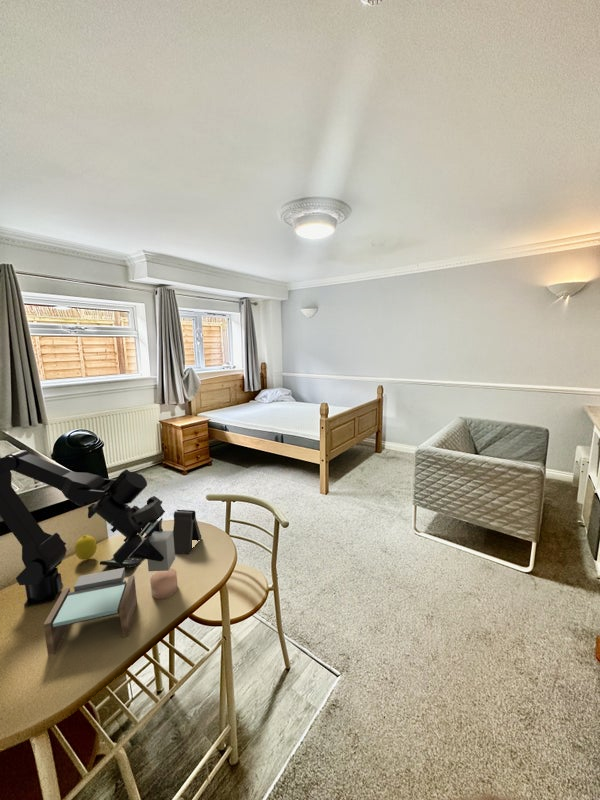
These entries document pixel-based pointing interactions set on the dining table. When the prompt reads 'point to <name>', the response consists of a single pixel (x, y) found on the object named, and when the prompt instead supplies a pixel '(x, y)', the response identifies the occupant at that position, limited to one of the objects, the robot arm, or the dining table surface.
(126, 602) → the frame
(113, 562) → the calculator
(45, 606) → the dining table surface
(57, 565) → the robot arm
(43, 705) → the dining table surface
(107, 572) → the trapdoor
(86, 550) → the lemon
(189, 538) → the dark folding easel stand
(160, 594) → the pink rounded block
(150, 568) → the gray rectangular block
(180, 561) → the dining table surface
